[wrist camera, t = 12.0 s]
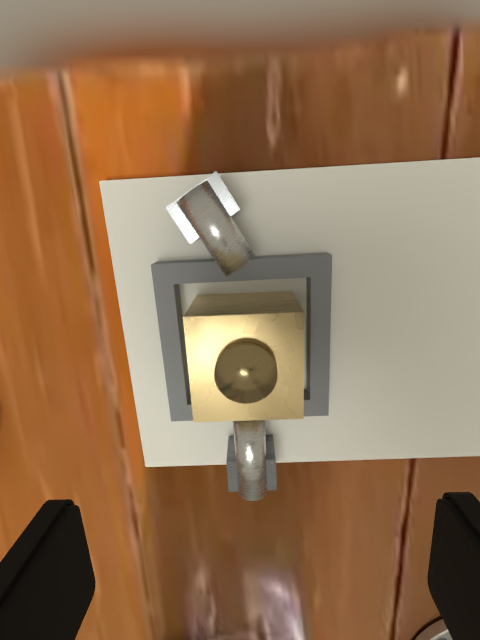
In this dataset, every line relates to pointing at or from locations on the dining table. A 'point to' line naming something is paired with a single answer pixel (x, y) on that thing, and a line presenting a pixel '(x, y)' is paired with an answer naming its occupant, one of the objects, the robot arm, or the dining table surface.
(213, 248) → the shaft
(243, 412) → the block
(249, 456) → the shaft
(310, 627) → the dining table surface
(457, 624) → the robot arm
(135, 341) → the board
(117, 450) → the dining table surface
